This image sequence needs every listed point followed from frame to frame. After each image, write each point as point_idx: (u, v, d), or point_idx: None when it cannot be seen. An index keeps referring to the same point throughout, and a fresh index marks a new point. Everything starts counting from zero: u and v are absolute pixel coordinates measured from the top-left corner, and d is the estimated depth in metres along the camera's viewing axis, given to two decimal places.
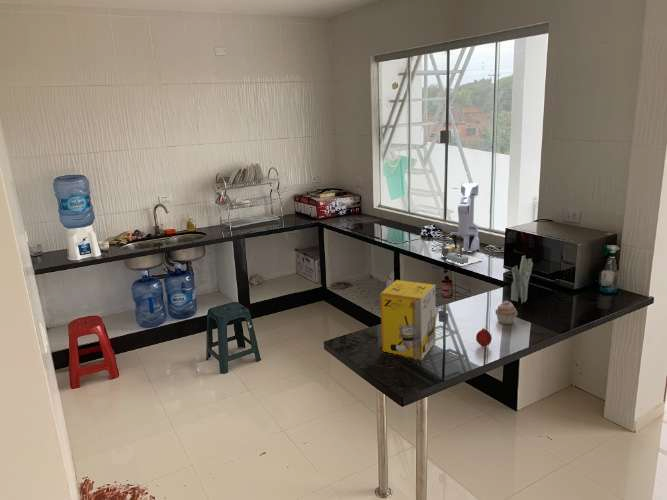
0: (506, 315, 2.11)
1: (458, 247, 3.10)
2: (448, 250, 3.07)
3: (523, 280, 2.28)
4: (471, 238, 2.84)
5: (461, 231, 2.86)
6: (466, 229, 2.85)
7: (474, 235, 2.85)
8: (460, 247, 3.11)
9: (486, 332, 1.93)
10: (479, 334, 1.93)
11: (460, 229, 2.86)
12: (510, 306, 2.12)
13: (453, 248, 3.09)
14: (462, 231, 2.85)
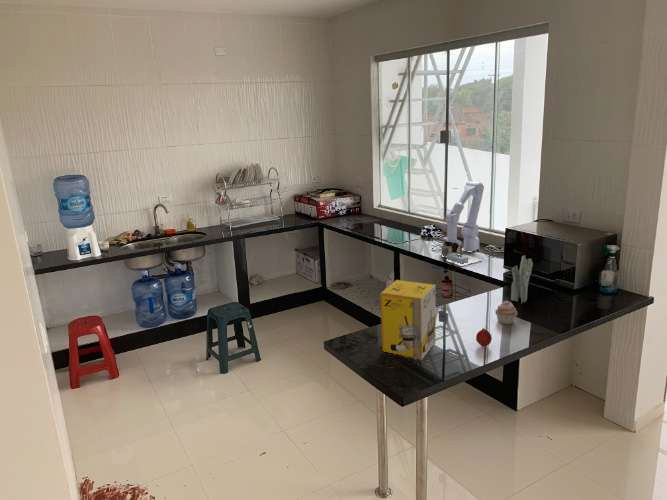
0: (506, 315, 2.11)
1: (458, 247, 3.10)
2: (448, 250, 3.07)
3: (523, 280, 2.28)
4: (452, 245, 3.06)
5: (447, 238, 3.08)
6: (451, 237, 3.06)
7: (457, 243, 3.03)
8: (460, 247, 3.11)
9: (486, 332, 1.93)
10: (479, 334, 1.93)
11: (447, 236, 3.08)
12: (510, 306, 2.12)
13: None
14: (448, 238, 3.08)
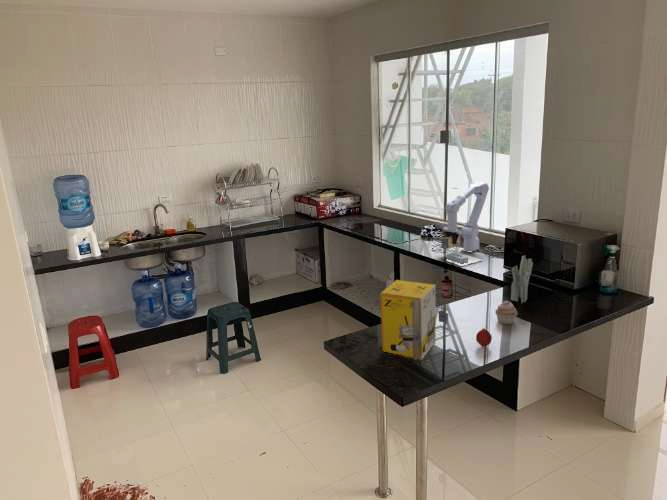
0: (506, 315, 2.11)
1: (458, 237, 3.09)
2: (448, 240, 3.05)
3: (523, 280, 2.28)
4: (452, 235, 3.04)
5: (447, 228, 3.06)
6: (451, 226, 3.04)
7: (458, 233, 3.02)
8: (460, 238, 3.09)
9: (486, 332, 1.93)
10: (479, 334, 1.93)
11: (447, 226, 3.07)
12: (510, 306, 2.12)
13: None
14: (448, 228, 3.06)
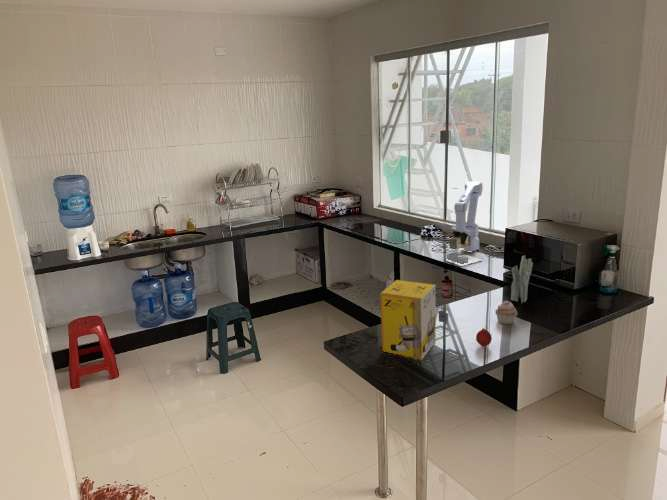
0: (506, 315, 2.11)
1: (467, 238, 3.02)
2: (456, 241, 2.98)
3: (523, 280, 2.28)
4: (461, 235, 2.97)
5: (456, 228, 3.00)
6: (460, 226, 2.97)
7: (466, 233, 2.95)
8: (469, 238, 3.03)
9: (486, 332, 1.93)
10: (479, 334, 1.93)
11: (456, 225, 3.00)
12: (510, 306, 2.12)
13: None
14: (456, 228, 2.99)
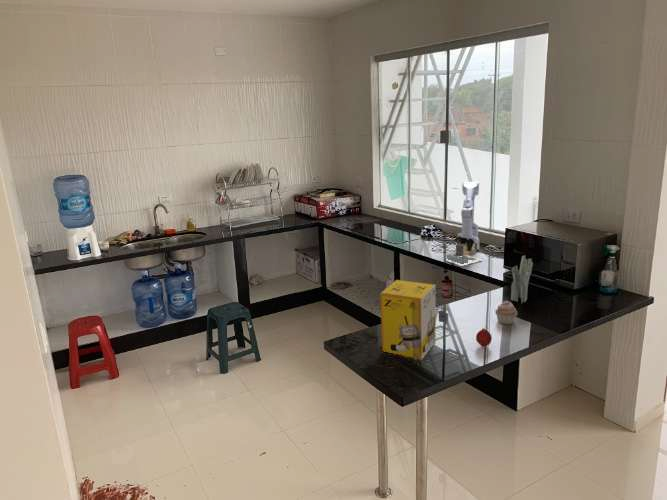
0: (506, 315, 2.11)
1: (473, 244, 2.98)
2: (463, 248, 2.95)
3: (523, 280, 2.28)
4: (467, 241, 2.93)
5: (462, 234, 2.96)
6: (466, 233, 2.93)
7: (473, 239, 2.91)
8: (475, 245, 2.99)
9: (486, 332, 1.93)
10: (479, 334, 1.93)
11: (462, 232, 2.96)
12: (510, 306, 2.12)
13: None
14: (463, 234, 2.95)
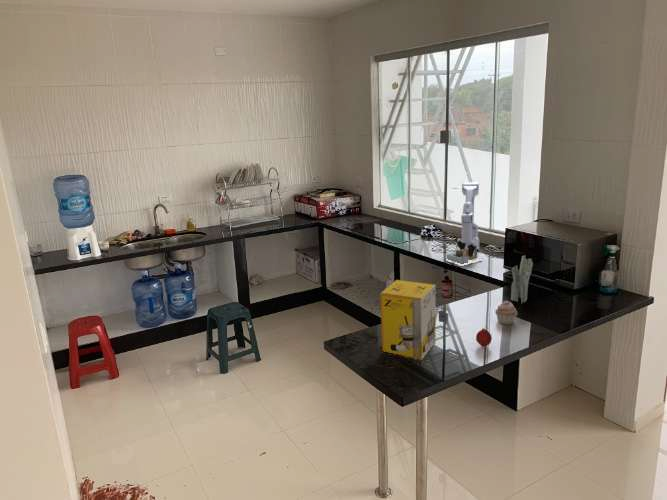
0: (506, 315, 2.11)
1: None
2: (463, 253, 2.96)
3: (523, 280, 2.28)
4: (469, 247, 2.93)
5: (462, 239, 2.97)
6: (466, 238, 2.94)
7: (473, 244, 2.92)
8: (475, 250, 3.00)
9: (486, 332, 1.93)
10: (479, 334, 1.93)
11: (462, 237, 2.97)
12: (510, 306, 2.12)
13: (468, 251, 2.97)
14: (463, 239, 2.96)
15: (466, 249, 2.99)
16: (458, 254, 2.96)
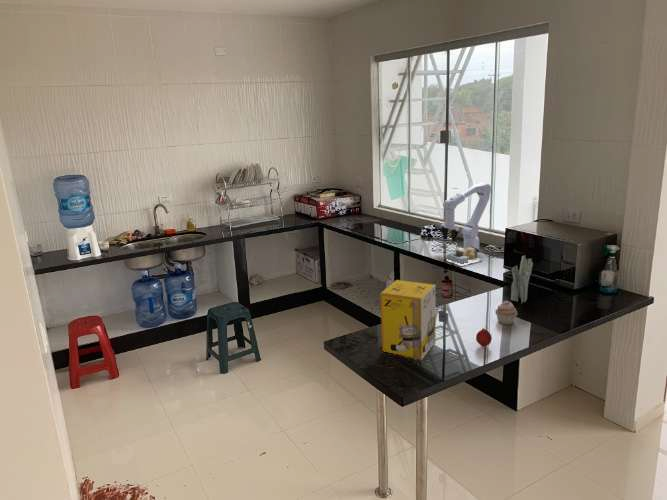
0: (506, 315, 2.11)
1: (473, 250, 2.99)
2: (463, 253, 2.96)
3: (523, 280, 2.28)
4: (452, 232, 3.05)
5: (445, 225, 3.08)
6: (449, 223, 3.06)
7: (455, 230, 3.04)
8: (475, 250, 3.00)
9: (486, 332, 1.93)
10: (479, 334, 1.93)
11: (445, 223, 3.09)
12: (510, 306, 2.12)
13: (468, 251, 2.97)
14: (446, 225, 3.08)
15: (466, 249, 2.99)
16: (458, 254, 2.96)
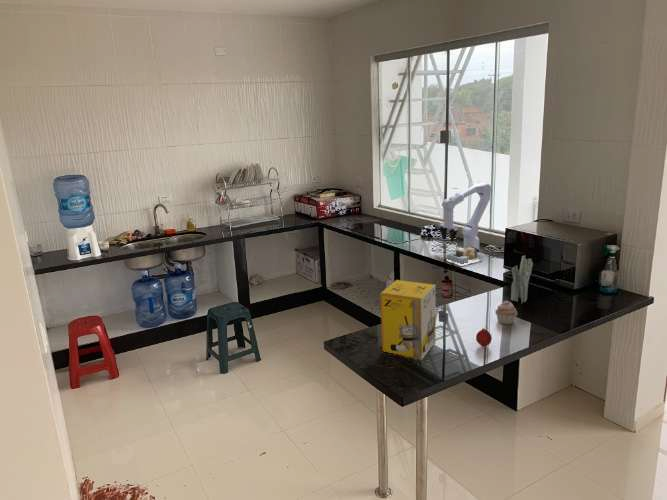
0: (506, 315, 2.11)
1: (473, 250, 2.99)
2: (463, 253, 2.96)
3: (523, 280, 2.28)
4: (450, 232, 3.06)
5: (444, 224, 3.10)
6: (447, 223, 3.07)
7: (454, 229, 3.05)
8: (475, 250, 3.00)
9: (486, 332, 1.93)
10: (479, 334, 1.93)
11: None
12: (510, 306, 2.12)
13: (468, 251, 2.97)
14: (444, 224, 3.09)
15: (466, 249, 2.99)
16: (458, 254, 2.96)
